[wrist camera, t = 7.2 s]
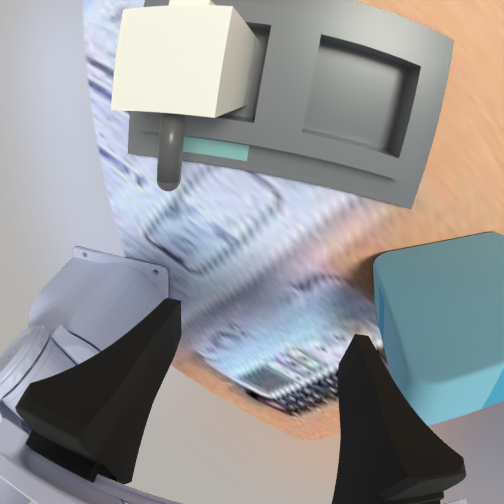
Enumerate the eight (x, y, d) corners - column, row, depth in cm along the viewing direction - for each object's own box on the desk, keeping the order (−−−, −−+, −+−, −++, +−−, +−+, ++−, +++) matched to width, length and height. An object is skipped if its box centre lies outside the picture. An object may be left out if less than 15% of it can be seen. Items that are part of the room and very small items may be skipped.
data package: (371, 300, 23) (400, 433, 13) (368, 253, 21) (411, 393, 11) (492, 273, 20) (556, 375, 10) (499, 228, 18) (583, 326, 8)
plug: (176, 151, 18) (110, 196, 11) (192, 26, 14) (126, -5, 7) (239, 160, 18) (203, 212, 11) (260, 31, 14) (236, -9, 7)
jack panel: (134, 150, 19) (112, 161, 17) (155, -14, 13) (134, -25, 10) (406, 203, 19) (421, 222, 16) (446, 41, 13) (469, 37, 10)
